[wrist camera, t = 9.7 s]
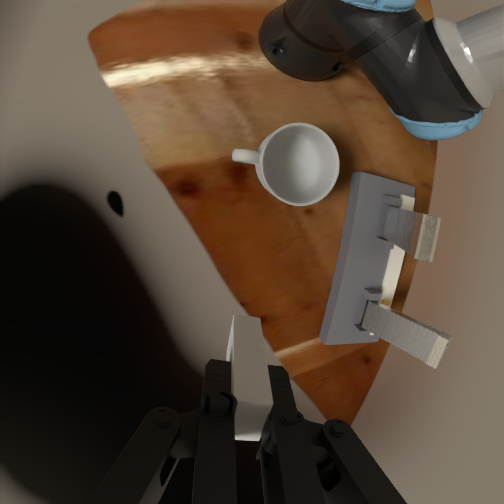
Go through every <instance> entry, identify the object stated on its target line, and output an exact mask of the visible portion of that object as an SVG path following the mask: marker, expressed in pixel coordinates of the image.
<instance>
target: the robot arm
mask: <svg viewBox="0 0 504 504" xmlns="http://www.w3.org/2000/svg"><path fill="white" fill-rule="evenodd" d="M415 3H416V0H287V1H286V2H285V3H283V4H282V5H280V6H278V7H277V8H275V9H274V10H272V11H271V12H270V13H269V14H268V15H267V16H266V17H265V19H264V20H263V23H262V25H261V27H260V30H259V44H260V47H261V49H262V52H263V53H264V55H265V57H266V58H267V59H268V60H269V62H270V63H271V64H272V65H274V66H275V67H276V68H277V69H279V70H280V71H282V72H283V73H285V74H287V75H289V76H291V77H294V78H297V79H301V80H306V81H319V80H324V79H327V78H330V77H332V76H333V75H335V74H336V73H337V72H339V71H340V70H341V69H342V68H343V67H344V66H345V65H346V63H347V61H348V59H349V57H350V58H351V59H352V60H353V61H354V62H355V64H356V65H357V66H358V67H359V68H360V69H361V71H362V72H363V73H364V74H365V75H366V77H367V78H368V79H369V80H370V81H371V83H372V84H373V85H374V87H375V88H376V89H377V90H378V92H379V93H380V94H381V96H382V97H383V98H384V100H385V101H386V102H387V104H388V105H389V109H390V111H391V112H392V113H393V114H394V115H395V116H396V117H397V118H398V119H399V120H400V122H401V123H402V125H403V126H404V127H405V129H406V130H407V131H408V132H409V133H411V134H412V135H414V136H415V137H417V138H420V139H425V140H444V139H449V138H453V137H457V136H459V135H462V134H463V131H470V130H472V129H473V128H475V127H476V126H477V125H478V124H479V122H480V121H481V118H482V110H483V109H487V108H489V107H490V105H491V102H492V98H493V95H494V93H495V92H496V91H500V90H503V89H504V3H503V4H501V5H498V6H495V7H492V8H490V9H488V10H485V11H482V12H480V13H477V14H475V15H472V16H470V17H468V18H465V19H463V20H461V21H459V22H452V21H450V20H447V19H444V18H441V17H434V18H433V19H431V20H429V21H427V22H426V21H425V20H424V19H423V18H422V17H421V15H420V14H419V13H418V12H417V11H416V9H415V8H414V6H415ZM421 18H422V19H421ZM260 437H262V444H261V447H260V449H259V451H258V454H257V458H256V459H259V457H260V458H261V469H262V481H263V491H264V502H265V504H407V503H406V502H405V500H404V499H403V498H402V496H401V495H400V494H399V492H398V491H397V490H396V488H395V487H394V486H393V484H392V483H391V481H390V480H389V479H388V477H387V476H386V475H385V473H384V472H383V471H382V469H381V468H380V467H379V465H378V464H377V462H376V461H375V460H374V458H373V457H372V456H371V454H370V453H369V452H368V450H367V449H366V447H365V446H364V445H363V443H362V442H361V440H360V439H359V438H358V436H357V435H356V434H355V432H354V431H353V429H352V428H351V426H350V425H349V424H348V423H346V422H344V421H342V420H339V419H331V420H328V421H326V422H325V424H324V425H323V424H319V423H314V422H310V421H308V420H306V419H304V417H303V415H302V414H301V413H300V412H299V411H297V408H296V404H295V400H294V396H293V392H292V388H291V384H290V379H289V375H288V373H287V371H286V370H285V369H284V368H283V366H273V365H267V360H266V354H265V348H264V341H263V334H262V328H261V321H260V318H256V317H249V316H242V315H234V316H233V321H232V326H231V333H230V337H229V343H228V348H227V361H222V360H214V359H211V360H210V361H209V362H208V363H207V365H206V368H205V375H204V383H203V393H202V401H201V405H200V407H199V408H198V409H197V410H195V411H193V412H191V413H186V414H178V413H177V412H176V411H174V410H172V409H170V408H165V407H159V408H155V409H152V410H151V411H150V412H149V413H148V414H147V415H146V417H145V418H144V420H143V421H142V423H141V424H140V426H139V427H138V429H137V430H136V432H135V433H134V435H133V436H132V438H131V439H130V441H129V442H128V444H127V445H126V447H125V448H124V450H123V451H122V453H121V454H120V456H119V457H118V459H117V460H116V461H115V463H114V464H113V466H112V467H111V469H110V470H109V472H108V473H107V475H106V476H105V478H104V479H103V481H102V482H101V484H100V485H99V487H98V488H97V490H96V491H95V493H94V494H93V495H92V497H91V498H90V500H89V501H88V503H87V504H158V502H159V500H160V497H161V496H162V494H163V492H164V490H165V488H166V485H167V483H168V481H169V479H170V477H171V475H172V473H173V471H174V469H175V467H176V465H177V463H178V461H179V459H180V458H186V457H194V456H196V459H195V470H194V483H193V495H192V504H237V497H236V496H237V494H236V461H235V440H250V441H251V440H252V441H259V439H260Z"/></svg>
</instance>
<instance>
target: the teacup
mask: <svg viewBox="0 0 504 504" xmlns="http://www.w3.org/2000/svg"><path fill="white" fill-rule="evenodd" d="M232 159H233V160H234V161H236V162H243V163H250V164H254V165H255V167H256V172H257V176H258V178H259V180H260V182H261V184H262V185H263V186H264V187H265V189H266V190H268V191H269V192H270V193H271V194H272V195H274V196H275V197H276V198H278V199H279V200H281V201H283V202H285V203H287V204H291V205H295V206H305V205H311V204H313V203H316V202H318V201H320V200H321V199H323V198H324V197H325V196H327V195H328V194H329V192H330V191H331V190H332V188H333V187H334V185H335V183H336V181H337V178H338V175H339V168H340V161H339V155H338V151H337V149H336V146H335V144H334V143H333V141H332V140H331V138H330V137H329V136H328V135H327V134H326V133H325V132H324V131H323V130H321V129H320V128H318V127H316V126H313V125H311V124H308V123H290V124H287V125H285V126H282V127H280V128H279V129H277V130H276V131H274V132H273V133H271V134H270V135H268V136H267V137H266V138H265V139H264V140H263V142H262V143H261V145H260V146H259V149H258V151H254V150H247V149H235V150H234V151H233V153H232Z"/></svg>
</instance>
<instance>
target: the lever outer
mask: <svg viewBox="0 0 504 504" xmlns="http://www.w3.org/2000/svg"><path fill="white" fill-rule="evenodd" d="M360 326H361V327H362V328H364V329H365V330H367V331H369V332H371V333H373V334H374V335H376V336H378V337H380V338H382V339H384V340H385V341H387V342H389V343H391V344H393V345H395V346H397V347H398V348H400V349H402V350H404V351H406V352H408V353H409V354H411V355H413V356H415V357H417V358H419V359H421V360H422V361H424V362H426V364H427V365H429V366H431V367H433V368H435V369H436V368H437V367H438V366H439V364H440V363H441V361H442V359H443V357H444V355H445V353H446V350H447V348H448V346H449V343H450V341H451V339H452V335H450V334H448V333H446V332H444V331H442V332H441V331H439V330H437V329H435V328H433V327H431V326H429V325H427V324H424V323H422V322H420V321H418V320H416V319H414V318H412V317H410V316H407V315H405V314H403V313H401V312H399V311H397V310H395V309H393V308H390V307H388V306H386V305H384V304H382V303H380V302H378V301H373V300H367V301H366V305H365V308H364V312H363V315H362V318H361V322H360Z"/></svg>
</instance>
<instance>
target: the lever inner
mask: <svg viewBox="0 0 504 504" xmlns="http://www.w3.org/2000/svg"><path fill="white" fill-rule="evenodd" d="M440 222H441V218H439V217H435V216H431V215H427V214H423V213H418V212H413V211H409V210H404V209H399V208H394V207H389V206H387V211H386V217H385V222H384V228H383V233H382V237H384V238H385V239H387V240H388V241H390V242H392V243H393V244H395V245H396V246H398V247H399V248H401V249H402V250H404V251H406V252H407V253H409V254H408V255H410V256H411V257H413V258H414V259H418V260H423V261H428V262H432V260H433V256H434V251H435V247H436V242H437V237H438V232H439V227H440Z"/></svg>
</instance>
